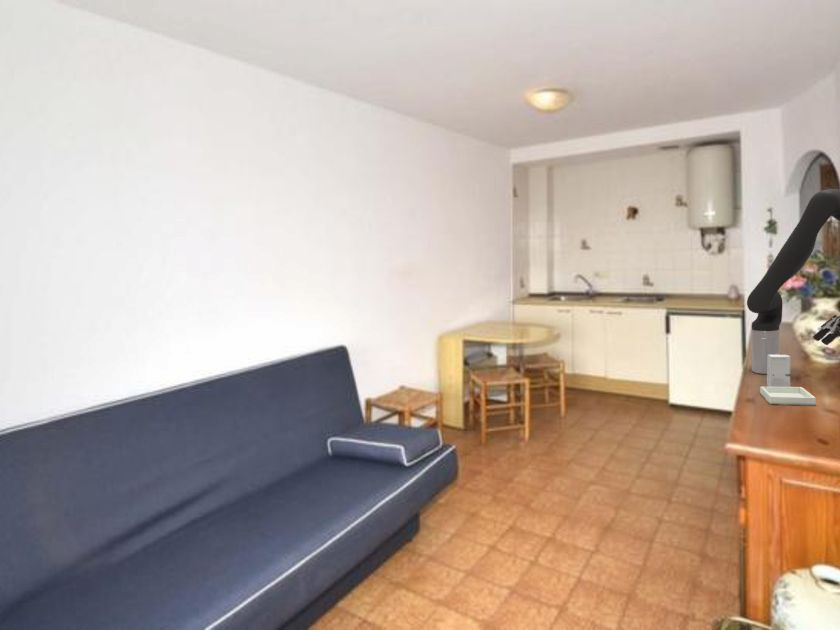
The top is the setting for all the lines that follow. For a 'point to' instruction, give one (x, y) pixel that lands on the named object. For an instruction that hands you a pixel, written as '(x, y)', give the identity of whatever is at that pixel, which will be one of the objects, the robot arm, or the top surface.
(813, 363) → the top surface
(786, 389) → the tray
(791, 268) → the robot arm
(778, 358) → the skincare box
